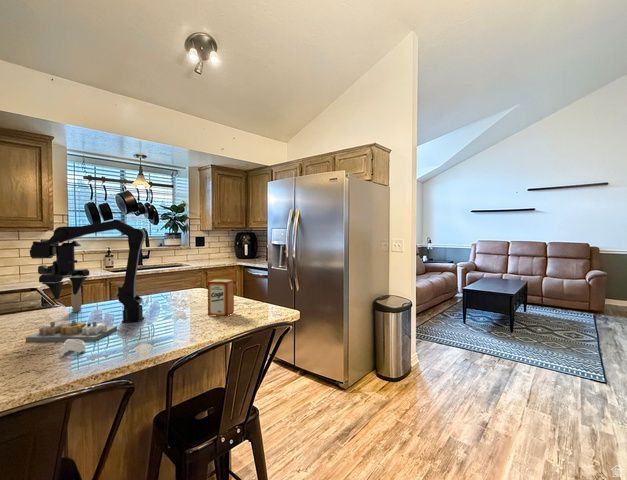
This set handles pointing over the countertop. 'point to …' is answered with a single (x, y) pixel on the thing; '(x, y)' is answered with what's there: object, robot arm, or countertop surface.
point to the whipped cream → (73, 346)
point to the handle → (76, 299)
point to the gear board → (54, 334)
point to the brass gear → (72, 328)
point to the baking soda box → (220, 297)
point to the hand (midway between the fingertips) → (66, 296)
